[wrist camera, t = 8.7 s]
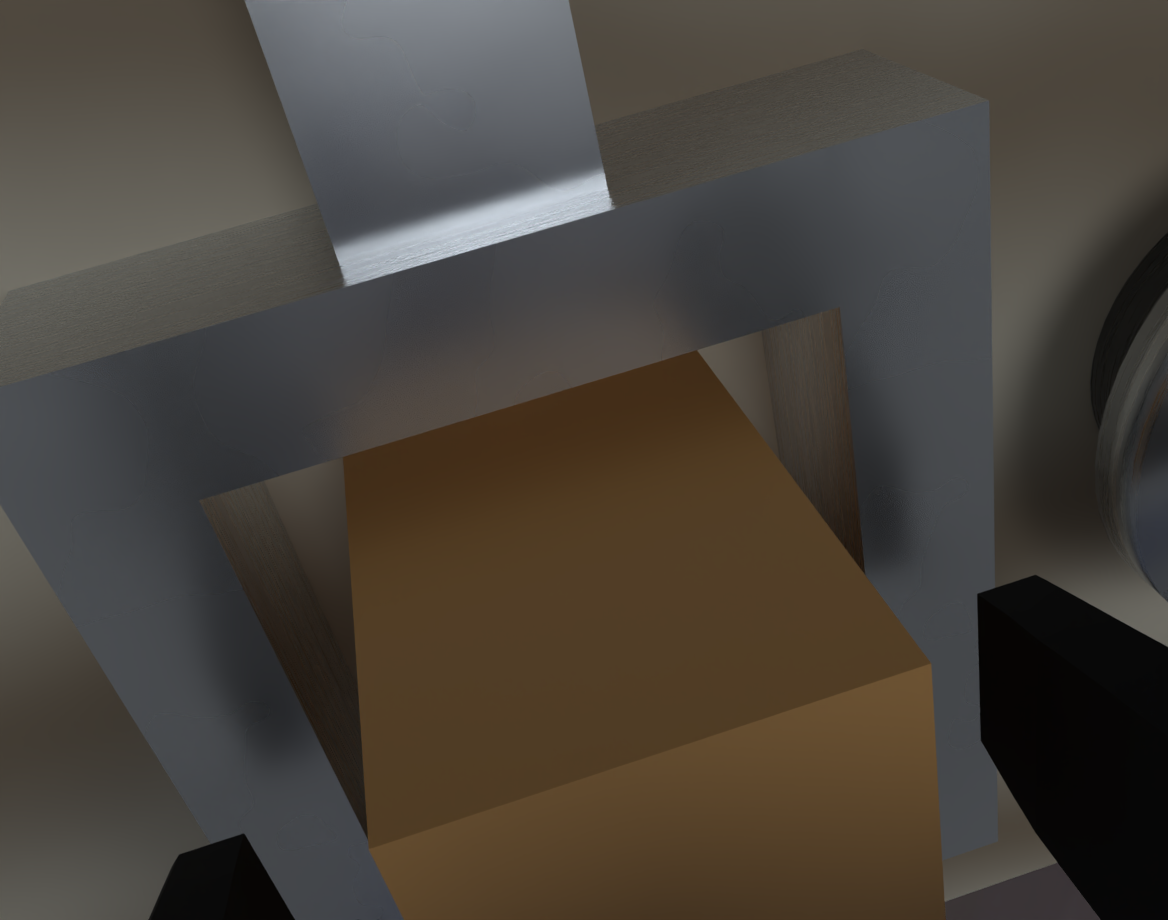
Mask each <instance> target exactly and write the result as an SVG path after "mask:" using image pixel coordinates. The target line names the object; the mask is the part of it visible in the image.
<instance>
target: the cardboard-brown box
mask: <svg viewBox="0 0 1168 920" xmlns="http://www.w3.org/2000/svg"><path fill="white" fill-rule="evenodd" d="M343 466H344V481H345V496H346V511H347V527H348V542H349V557H350V572H351V588H352V603H353V618H354V633H355V649H356V664H357V679H358V694H359V710H360V725H361V740H362V755H363V771H364V786H365V801H366V816H367V832H368V847H369V851H370V853H371V855H372V857H373V859H374V861H375V863H376V865H377V867H378V869H379V871H380V873H381V875H382V877H383V879H384V881H385V883H386V885H387V887H388V889H389V891H390V893H391V895H392V897H393V899H394V901H395V903H396V905H397V907H398V909H399V911H400V913H401V915H402V917H403V919H404V920H946V918H945V900H944V882H943V864H942V846H941V828H940V810H939V793H938V775H937V757H936V739H935V721H934V703H933V685H932V667H931V662H930V661H929V660H928V658H927V657H926V656H925V654H924V653H923V652H922V650H921V649H920V648H919V646H918V645H917V644H916V642H915V641H914V640H913V638H912V637H911V636H910V634H909V633H908V632H907V630H906V629H905V628H904V626H903V625H902V624H901V622H900V621H899V620H898V618H897V617H896V616H895V614H894V613H893V612H892V610H891V609H890V608H889V606H888V605H887V604H886V602H885V601H884V600H883V598H882V597H881V595H880V594H879V593H878V591H877V590H876V589H875V587H874V586H873V585H872V583H871V582H870V581H869V579H868V578H867V577H866V575H865V574H864V573H863V571H862V570H861V569H860V567H859V566H858V565H857V563H856V562H855V561H854V559H853V558H852V557H851V555H850V554H849V553H848V551H847V550H846V549H845V547H844V546H843V545H842V543H841V542H840V541H839V539H838V538H837V537H836V535H835V534H834V533H833V531H832V530H831V529H830V527H829V526H828V525H827V523H826V522H825V521H824V519H823V518H822V517H821V515H820V514H819V513H818V511H817V510H816V509H815V507H814V506H813V505H812V503H811V502H810V501H809V499H808V498H807V497H806V495H805V494H804V493H803V491H802V490H801V489H800V487H799V486H798V485H797V483H796V482H795V480H794V479H793V478H792V476H791V475H790V474H789V472H788V471H787V470H786V468H785V467H784V466H783V464H782V463H781V462H780V460H779V459H778V458H777V456H776V455H775V454H774V452H773V451H772V450H771V448H770V447H769V446H768V444H767V443H766V442H765V440H764V439H763V438H762V436H761V435H760V434H759V432H758V431H757V430H756V428H755V427H754V426H753V424H752V423H751V422H750V420H749V419H748V418H747V416H746V415H745V414H744V412H743V411H742V410H741V408H740V407H739V406H738V404H737V403H736V402H735V400H734V399H733V398H732V396H731V395H730V394H729V392H728V391H727V390H726V388H725V387H724V386H723V384H722V383H721V382H720V380H719V379H718V378H717V376H716V375H715V374H714V372H713V371H712V369H711V368H710V367H709V365H708V364H707V363H706V361H705V360H704V359H703V357H702V356H701V355H700V353H699V352H698V351H697V350H696V351H692V352H689V353H686V354H682V355H679V356H676V357H672V358H669V359H666V360H662V361H659V362H656V363H652V364H649V365H646V366H643V367H639V368H636V369H633V370H629V371H626V372H623V373H619V374H616V375H613V376H609V377H606V378H603V379H599V380H596V381H593V382H590V383H586V384H583V385H580V386H576V387H573V388H570V389H566V390H563V391H560V392H556V393H553V394H550V395H546V396H543V397H540V398H537V399H533V400H530V401H527V402H523V403H520V404H517V405H513V406H510V407H507V408H503V409H500V410H497V411H493V412H490V413H487V414H484V415H480V416H477V417H474V418H470V419H467V420H464V421H460V422H457V423H454V424H450V425H447V426H444V427H440V428H437V429H434V430H431V431H427V432H424V433H421V434H417V435H414V436H411V437H407V438H404V439H401V440H397V441H394V442H391V443H387V444H384V445H381V446H378V447H374V448H371V449H368V450H364V451H361V452H358V453H354V454H351V455H348V456H344V457H343Z"/></svg>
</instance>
